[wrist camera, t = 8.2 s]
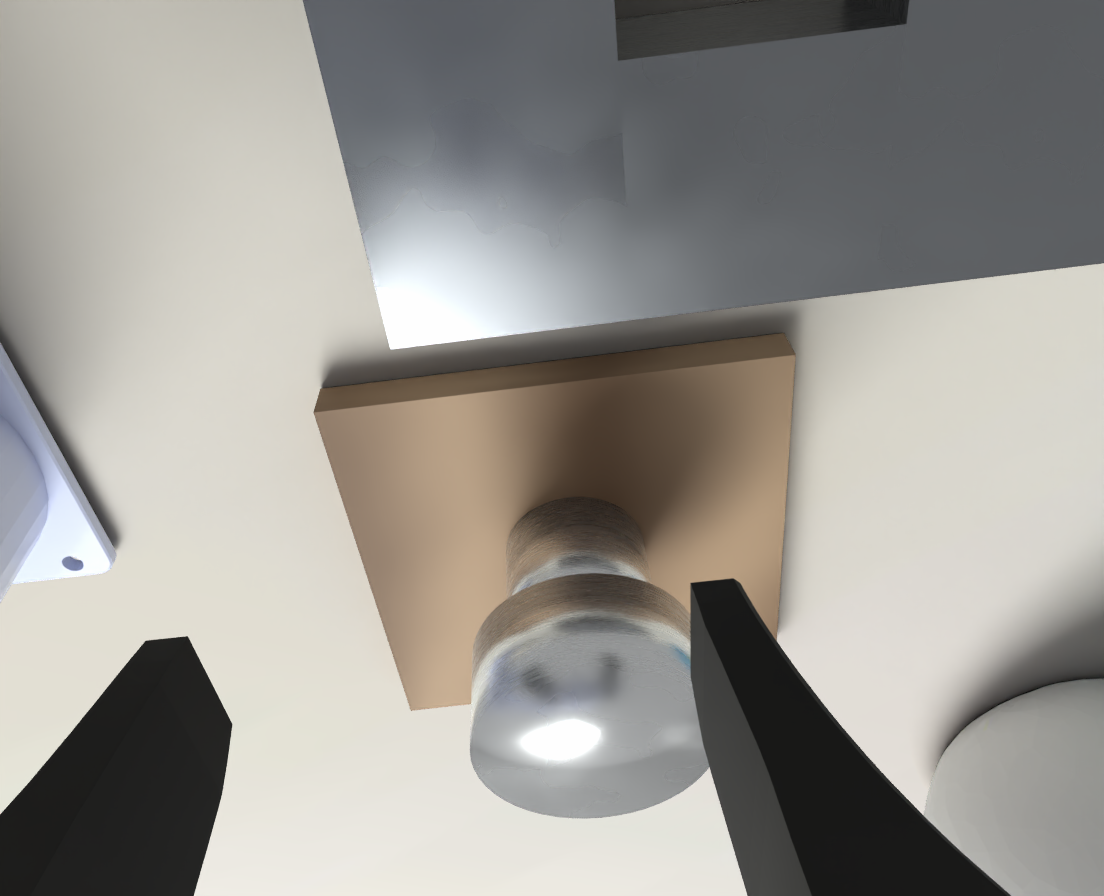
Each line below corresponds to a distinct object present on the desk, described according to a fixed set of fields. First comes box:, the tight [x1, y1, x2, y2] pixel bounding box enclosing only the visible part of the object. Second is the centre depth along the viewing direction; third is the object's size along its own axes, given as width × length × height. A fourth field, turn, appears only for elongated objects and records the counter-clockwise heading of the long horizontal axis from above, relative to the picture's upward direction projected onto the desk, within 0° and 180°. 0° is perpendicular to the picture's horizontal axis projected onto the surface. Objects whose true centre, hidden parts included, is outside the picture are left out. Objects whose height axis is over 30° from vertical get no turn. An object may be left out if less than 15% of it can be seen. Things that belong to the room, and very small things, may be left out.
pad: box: [314, 333, 796, 711], centre depth 24 cm, size 11×11×1 cm
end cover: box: [470, 497, 710, 818], centre depth 21 cm, size 5×5×6 cm
